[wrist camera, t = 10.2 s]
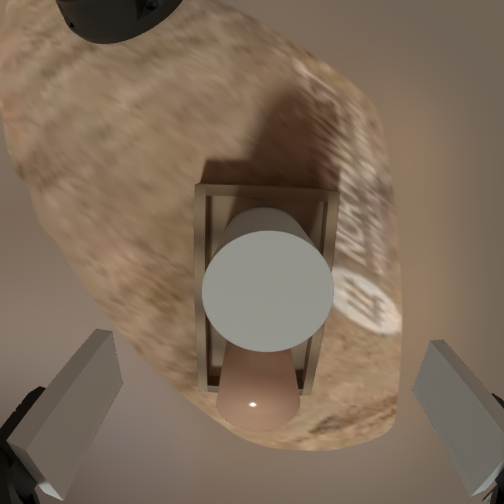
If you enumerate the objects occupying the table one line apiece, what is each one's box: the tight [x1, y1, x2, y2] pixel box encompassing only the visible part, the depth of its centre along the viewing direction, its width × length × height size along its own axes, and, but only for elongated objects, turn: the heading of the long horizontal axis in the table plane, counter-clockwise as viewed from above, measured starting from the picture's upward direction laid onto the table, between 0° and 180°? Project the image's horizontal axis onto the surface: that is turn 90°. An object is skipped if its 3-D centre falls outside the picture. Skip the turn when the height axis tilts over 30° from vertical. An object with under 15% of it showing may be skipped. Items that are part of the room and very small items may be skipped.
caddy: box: [194, 183, 340, 395], centre depth 31 cm, size 23×13×2 cm, turn 177°
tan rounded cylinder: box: [217, 340, 300, 431], centre depth 28 cm, size 7×7×10 cm
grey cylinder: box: [202, 205, 334, 352], centre depth 25 cm, size 8×8×12 cm
